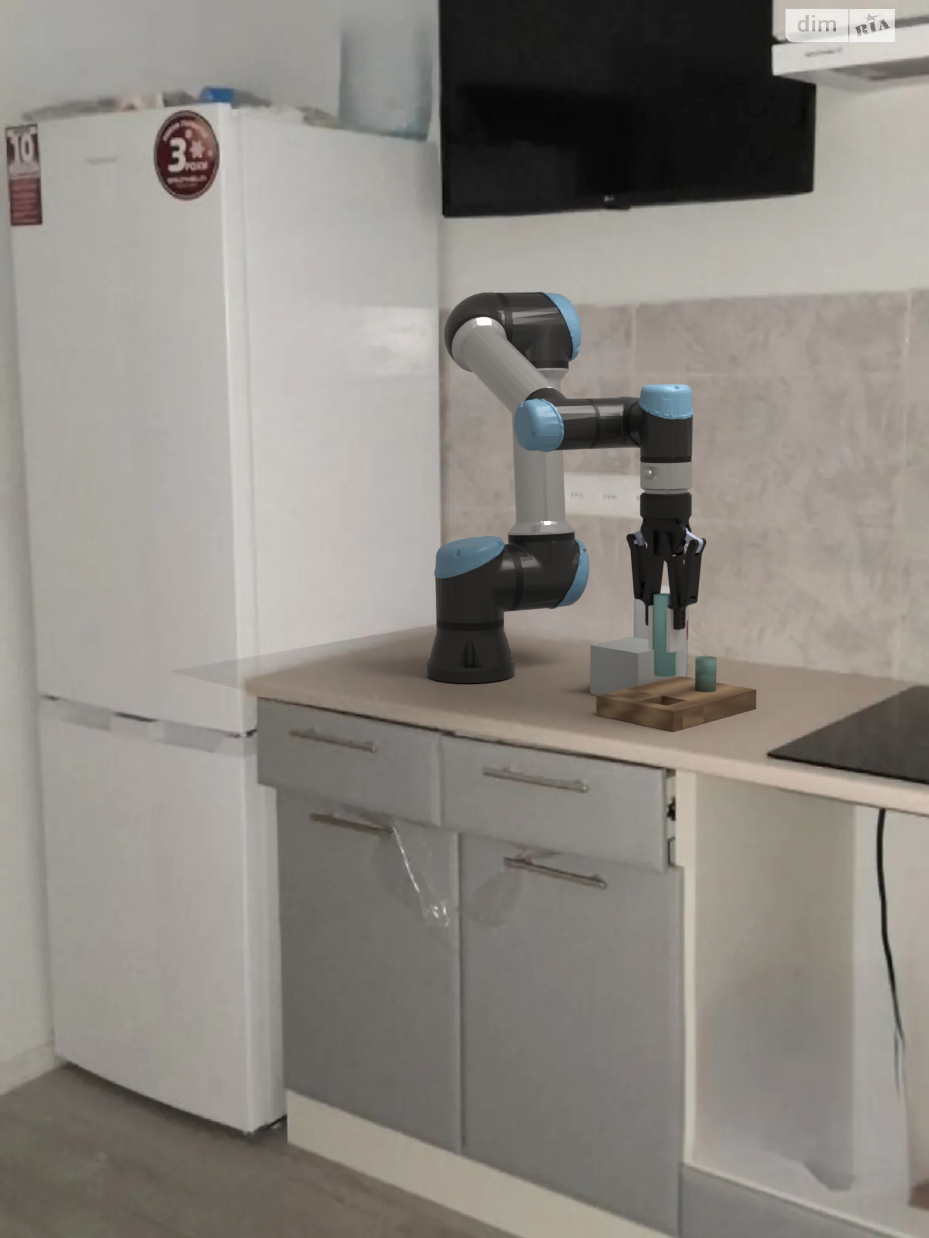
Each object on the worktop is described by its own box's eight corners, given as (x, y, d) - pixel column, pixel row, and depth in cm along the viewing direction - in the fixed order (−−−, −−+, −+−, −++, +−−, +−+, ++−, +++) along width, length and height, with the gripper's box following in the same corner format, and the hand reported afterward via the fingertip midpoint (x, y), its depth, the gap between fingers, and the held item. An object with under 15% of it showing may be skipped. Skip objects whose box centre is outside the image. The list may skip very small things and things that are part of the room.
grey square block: (590, 693, 246) (590, 645, 245) (630, 684, 253) (630, 636, 252) (638, 703, 239) (638, 653, 238) (678, 693, 246) (678, 644, 244)
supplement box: (686, 681, 254) (687, 593, 252) (632, 680, 256) (632, 592, 254) (689, 670, 263) (690, 584, 261) (637, 669, 265) (637, 584, 262)
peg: (649, 674, 226) (649, 595, 224) (663, 671, 229) (662, 592, 227) (666, 677, 224) (666, 596, 222) (680, 674, 226) (680, 594, 224)
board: (596, 715, 232) (596, 663, 230) (679, 693, 245) (679, 645, 244) (673, 731, 221) (674, 677, 219) (756, 708, 234) (757, 657, 233)
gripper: (607, 490, 225) (608, 646, 229) (692, 495, 214) (691, 659, 218) (640, 487, 230) (640, 639, 234) (725, 492, 219) (723, 652, 223)
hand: (665, 649), depth 226 cm, fingers closed on peg, 3 cm apart
